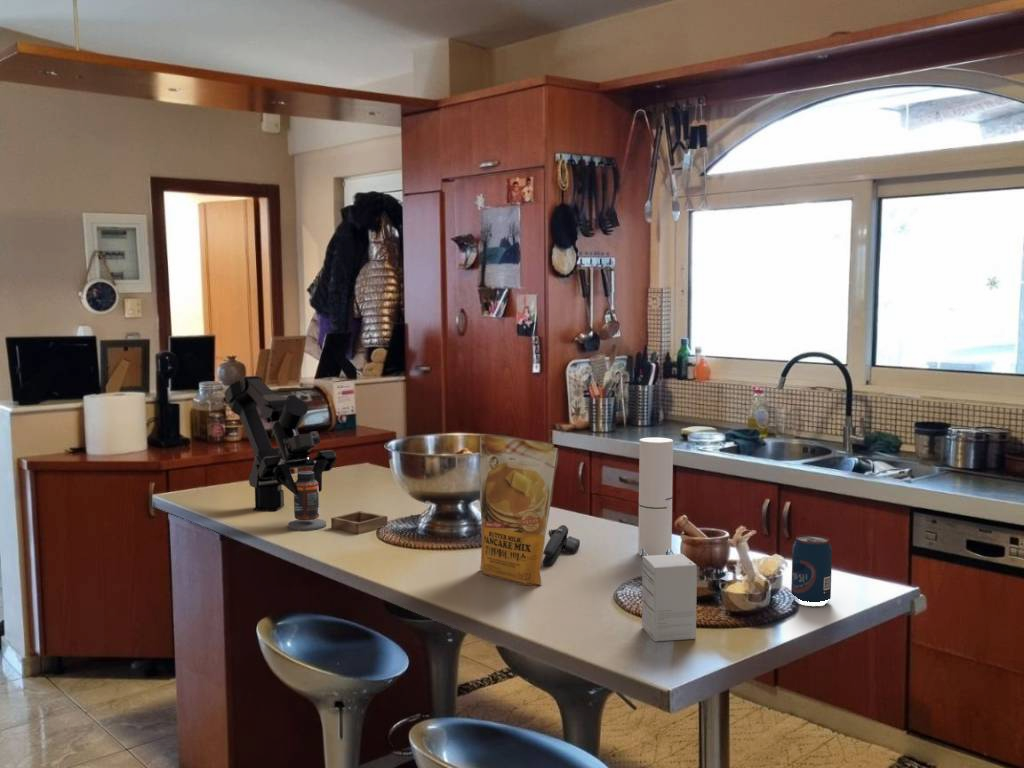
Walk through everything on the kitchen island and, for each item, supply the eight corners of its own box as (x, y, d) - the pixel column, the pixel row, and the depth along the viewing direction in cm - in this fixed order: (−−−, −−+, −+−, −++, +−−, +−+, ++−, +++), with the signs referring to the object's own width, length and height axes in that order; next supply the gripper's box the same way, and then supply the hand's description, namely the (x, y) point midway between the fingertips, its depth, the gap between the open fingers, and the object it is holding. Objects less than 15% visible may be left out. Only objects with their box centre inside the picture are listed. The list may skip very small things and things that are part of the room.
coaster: (283, 530, 235) (283, 526, 235) (295, 521, 244) (295, 518, 244) (319, 531, 234) (319, 527, 234) (330, 522, 243) (330, 519, 243)
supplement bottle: (324, 516, 241) (323, 471, 239) (310, 522, 235) (309, 475, 234) (303, 514, 243) (302, 469, 242) (289, 519, 237) (288, 473, 236)
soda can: (783, 601, 181) (784, 537, 180) (806, 594, 185) (808, 531, 184) (815, 611, 176) (817, 545, 175) (838, 603, 180) (840, 539, 179)
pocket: (331, 528, 237) (331, 518, 237) (360, 520, 244) (360, 511, 244) (358, 534, 231) (358, 523, 231) (387, 526, 239) (387, 516, 238)
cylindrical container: (678, 553, 214) (679, 440, 211) (657, 559, 209) (658, 443, 207) (652, 547, 219) (653, 436, 217) (631, 553, 214) (632, 439, 212)
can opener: (552, 545, 222) (552, 521, 221) (582, 548, 219) (583, 523, 219) (529, 566, 205) (529, 540, 204) (561, 569, 203) (561, 543, 202)
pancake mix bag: (490, 564, 206) (489, 431, 203) (560, 582, 193) (561, 441, 191) (467, 571, 201) (466, 435, 198) (538, 590, 188) (539, 445, 186)
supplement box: (682, 624, 169) (683, 552, 167) (696, 640, 161) (698, 564, 160) (640, 627, 168) (641, 554, 166) (653, 642, 160) (654, 566, 159)
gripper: (261, 424, 234) (281, 477, 227) (333, 418, 245) (354, 468, 238) (249, 451, 241) (268, 504, 234) (319, 444, 252) (339, 494, 245)
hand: (308, 492), depth 237 cm, fingers closed on supplement bottle, 6 cm apart
